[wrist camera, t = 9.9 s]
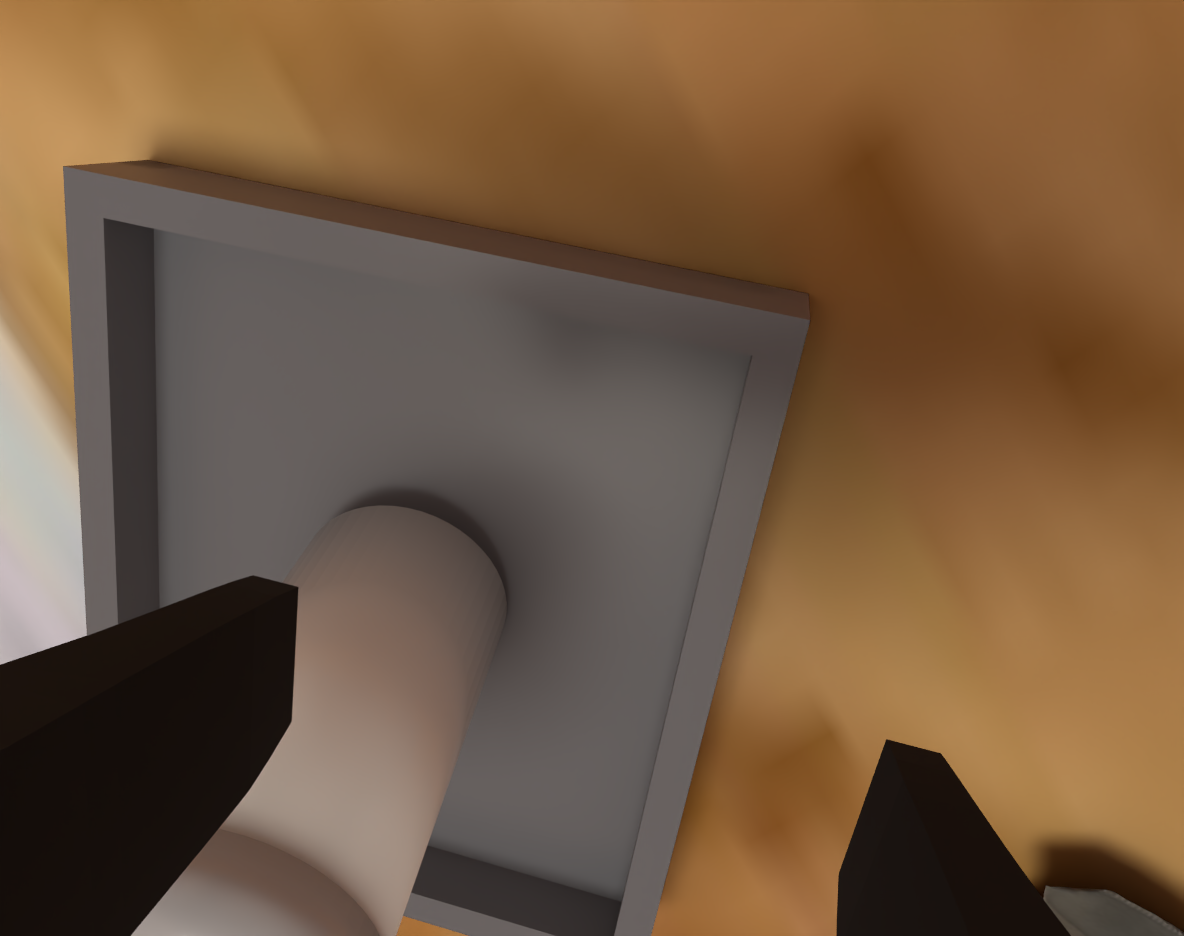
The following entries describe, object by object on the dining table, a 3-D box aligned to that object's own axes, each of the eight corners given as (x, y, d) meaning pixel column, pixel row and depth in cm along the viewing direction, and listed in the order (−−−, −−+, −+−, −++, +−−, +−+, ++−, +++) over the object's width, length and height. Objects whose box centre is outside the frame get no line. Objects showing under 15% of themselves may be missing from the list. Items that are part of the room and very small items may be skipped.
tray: (808, 293, 18) (809, 320, 16) (652, 903, 24) (637, 986, 22) (148, 159, 20) (63, 166, 17) (158, 759, 26) (96, 823, 24)
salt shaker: (518, 527, 19) (356, 951, 11) (500, 691, 22) (357, 1131, 14) (297, 484, 20) (-8, 870, 12) (305, 651, 22) (57, 1061, 14)
